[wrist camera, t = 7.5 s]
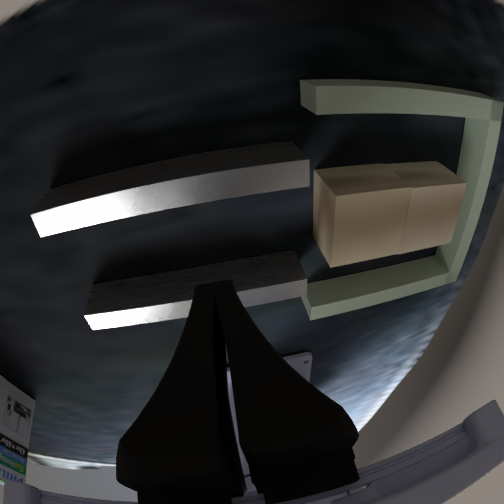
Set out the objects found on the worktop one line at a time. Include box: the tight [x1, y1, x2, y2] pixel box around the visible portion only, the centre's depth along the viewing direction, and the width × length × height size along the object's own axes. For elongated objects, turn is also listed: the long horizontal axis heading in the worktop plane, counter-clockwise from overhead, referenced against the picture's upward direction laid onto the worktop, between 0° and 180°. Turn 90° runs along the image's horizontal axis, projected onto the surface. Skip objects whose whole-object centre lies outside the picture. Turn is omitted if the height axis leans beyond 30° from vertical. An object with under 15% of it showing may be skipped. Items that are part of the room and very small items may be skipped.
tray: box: [300, 79, 504, 320], centre depth 16 cm, size 13×12×2 cm
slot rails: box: [31, 141, 309, 330], centre depth 15 cm, size 8×12×2 cm, turn 95°
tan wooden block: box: [384, 161, 467, 254], centre depth 16 cm, size 4×4×3 cm
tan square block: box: [313, 163, 412, 268], centre depth 16 cm, size 4×4×3 cm
